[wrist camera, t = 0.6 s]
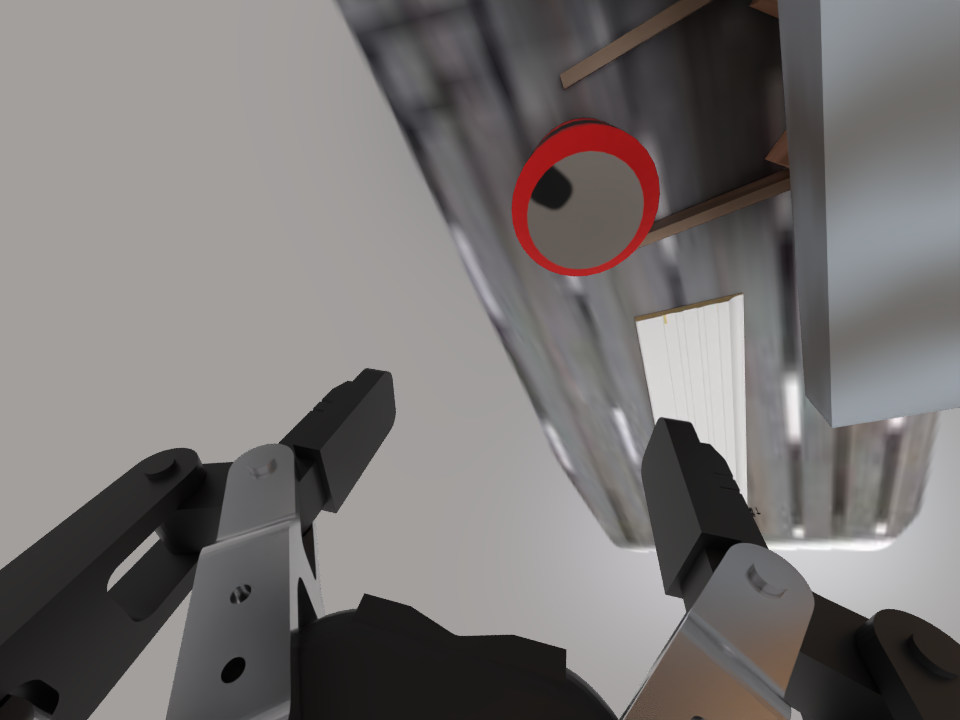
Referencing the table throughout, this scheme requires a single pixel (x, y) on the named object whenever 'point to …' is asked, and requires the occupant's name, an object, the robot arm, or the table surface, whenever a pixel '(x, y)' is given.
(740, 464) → the baseboard
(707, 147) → the table surface
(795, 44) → the overhang shelf
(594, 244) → the soda can
